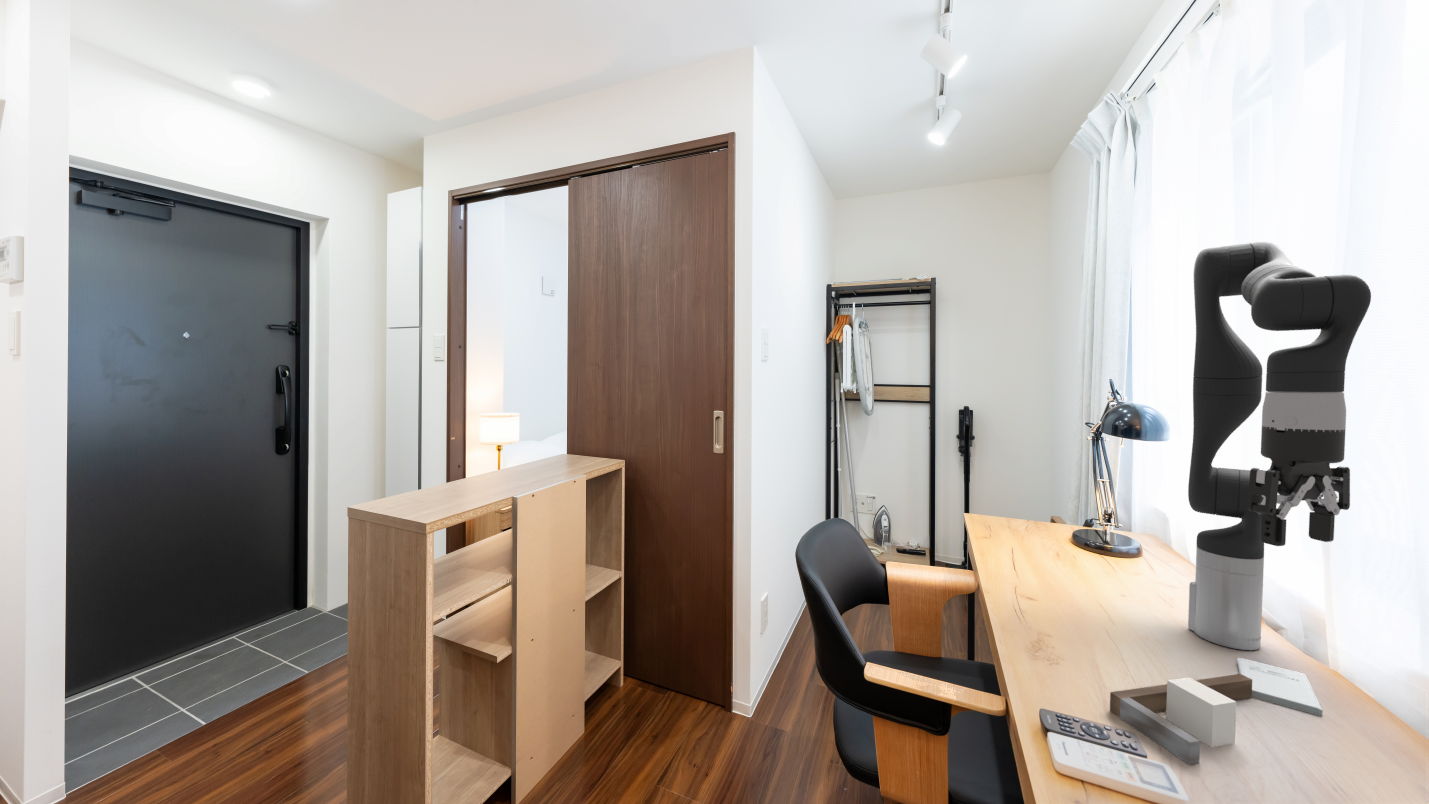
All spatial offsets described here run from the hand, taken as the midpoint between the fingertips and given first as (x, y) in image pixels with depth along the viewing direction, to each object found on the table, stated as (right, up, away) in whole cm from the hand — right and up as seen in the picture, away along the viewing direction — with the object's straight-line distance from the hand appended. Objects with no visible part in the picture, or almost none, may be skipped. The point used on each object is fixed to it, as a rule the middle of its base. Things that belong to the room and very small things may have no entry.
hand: (1297, 542), depth 71 cm
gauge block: (-10, -28, +3) cm, 30 cm away
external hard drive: (+12, -28, +14) cm, 34 cm away
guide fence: (-7, -28, +4) cm, 29 cm away
